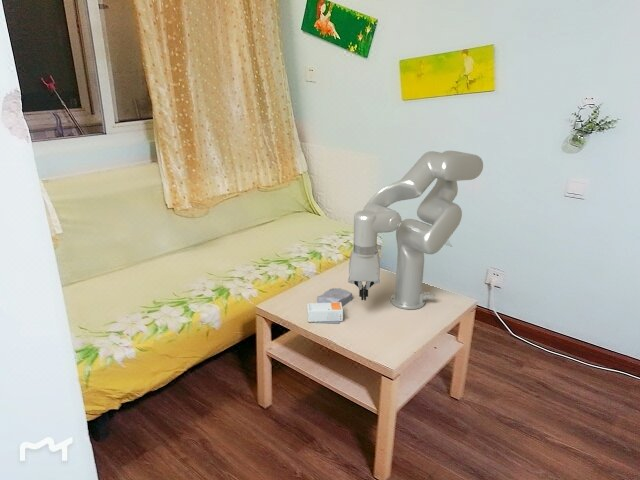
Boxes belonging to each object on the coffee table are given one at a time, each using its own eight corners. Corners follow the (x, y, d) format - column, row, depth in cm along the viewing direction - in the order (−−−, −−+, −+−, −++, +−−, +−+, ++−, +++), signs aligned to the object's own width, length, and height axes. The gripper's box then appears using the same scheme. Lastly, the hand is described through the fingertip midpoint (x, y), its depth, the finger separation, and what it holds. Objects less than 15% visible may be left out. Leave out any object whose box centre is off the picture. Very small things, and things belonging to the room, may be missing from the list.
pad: (339, 310, 165) (339, 309, 165) (339, 323, 157) (339, 322, 157) (317, 310, 166) (317, 309, 166) (315, 323, 157) (315, 322, 157)
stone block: (314, 309, 170) (337, 312, 164) (313, 297, 169) (335, 299, 163) (333, 298, 180) (354, 300, 174) (331, 286, 179) (353, 288, 173)
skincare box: (343, 309, 156) (307, 311, 156) (343, 321, 158) (308, 322, 157) (341, 301, 162) (307, 302, 161) (341, 312, 163) (307, 313, 163)
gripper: (387, 244, 155) (384, 293, 161) (342, 243, 156) (341, 292, 162) (388, 253, 148) (386, 304, 154) (341, 252, 149) (341, 303, 155)
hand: (363, 298), depth 158 cm, fingers closed
